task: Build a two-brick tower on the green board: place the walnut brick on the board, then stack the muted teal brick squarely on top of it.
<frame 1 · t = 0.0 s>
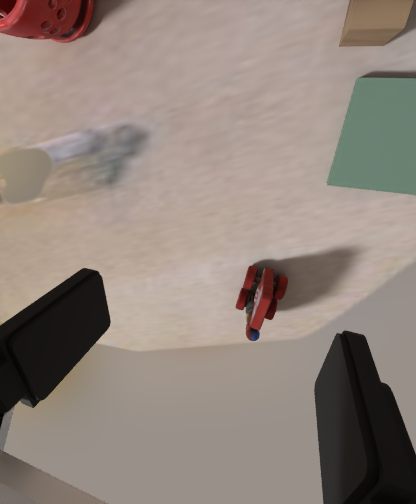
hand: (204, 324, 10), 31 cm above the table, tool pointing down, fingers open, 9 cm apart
toy fire truck: (261, 287, 45), on the table
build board: (393, 139, 30), on the table
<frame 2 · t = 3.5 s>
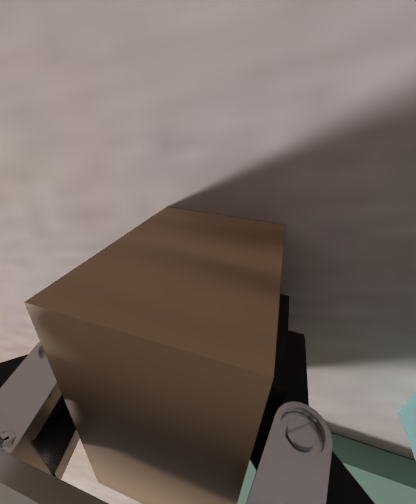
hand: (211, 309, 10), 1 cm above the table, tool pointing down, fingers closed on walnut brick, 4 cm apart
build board: (298, 478, 16), on the table
walnut brick: (215, 299, 11), on the table, touching gripper
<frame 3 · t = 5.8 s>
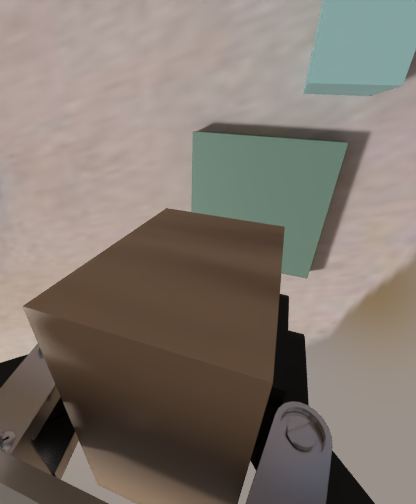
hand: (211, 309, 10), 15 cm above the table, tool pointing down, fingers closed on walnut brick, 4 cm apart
teal brick: (354, 21, 16), on the table
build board: (255, 206, 23), on the table
walnut brick: (215, 300, 11), point 14 cm above the table, touching gripper
when the fingers open (3 cm above the table, at t = 8.2 s): walnut brick drops 1 cm, resting on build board.
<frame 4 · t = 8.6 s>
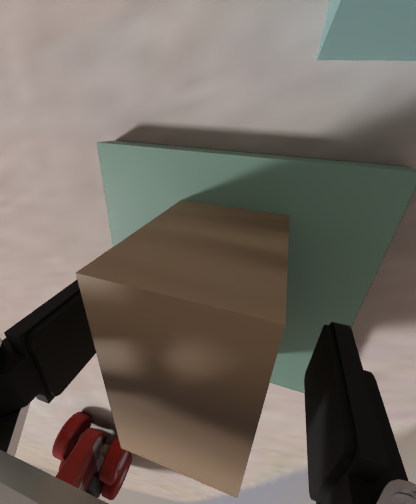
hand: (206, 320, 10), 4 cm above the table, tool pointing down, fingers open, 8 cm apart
toy fire truck: (109, 434, 29), on the table
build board: (227, 273, 13), on the table
walnut brick: (224, 286, 12), point 1 cm above the table, touching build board
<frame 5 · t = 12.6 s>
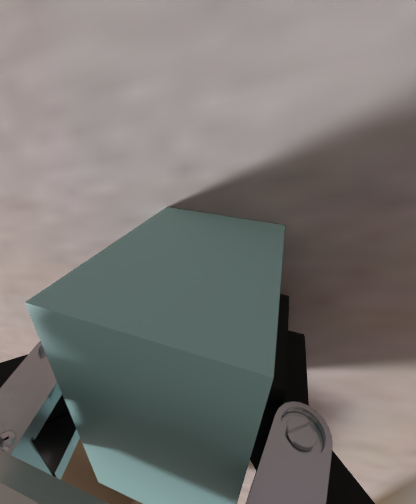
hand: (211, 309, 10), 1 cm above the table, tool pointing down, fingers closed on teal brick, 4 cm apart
teal brick: (215, 299, 11), on the table, touching gripper
walnut brick: (139, 438, 17), point 1 cm above the table, touching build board
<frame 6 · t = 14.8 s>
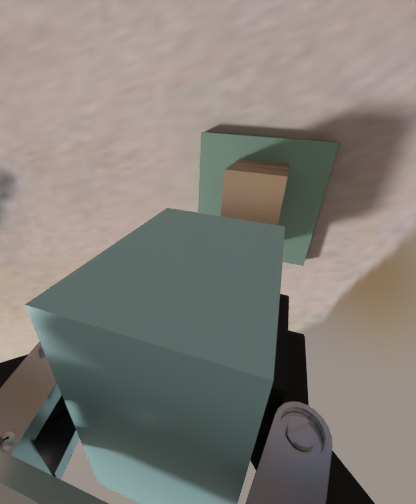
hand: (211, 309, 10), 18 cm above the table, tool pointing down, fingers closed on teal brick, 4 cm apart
teal brick: (215, 300, 11), point 17 cm above the table, touching gripper
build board: (257, 199, 25), on the table
walnut brick: (257, 203, 24), point 1 cm above the table, touching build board
when the fingers open (9 cm above the table, at t = 17.2 s): teal brick stays where it is, resting on walnut brick.
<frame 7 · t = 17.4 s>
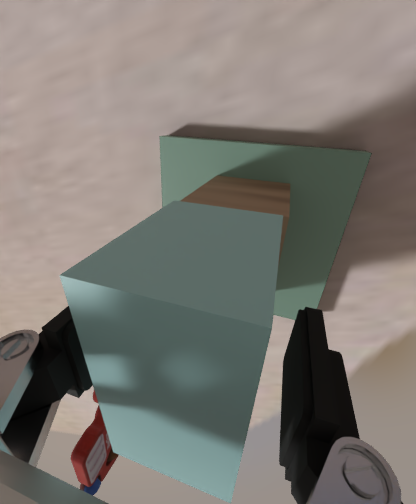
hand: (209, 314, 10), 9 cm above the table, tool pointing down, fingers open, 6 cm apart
teal brick: (219, 287, 12), point 7 cm above the table, touching walnut brick
toy fire truck: (135, 388, 33), on the table
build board: (245, 231, 18), on the table
walnut brick: (244, 238, 17), point 1 cm above the table, touching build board, teal brick
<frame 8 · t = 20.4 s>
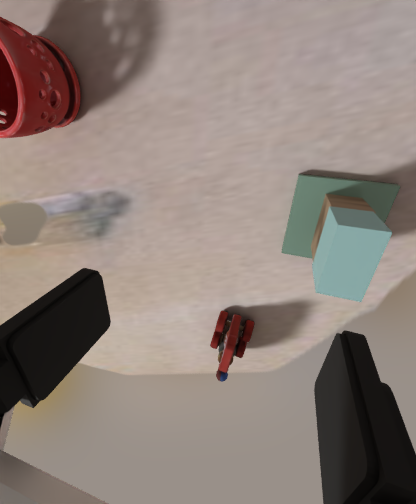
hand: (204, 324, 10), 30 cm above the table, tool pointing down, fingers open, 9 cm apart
teal brick: (340, 240, 29), point 7 cm above the table, touching walnut brick
toy fire truck: (233, 327, 51), on the table
plant pot: (57, 88, 39), on the table
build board: (332, 220, 35), on the table
walnut brick: (334, 223, 34), point 1 cm above the table, touching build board, teal brick
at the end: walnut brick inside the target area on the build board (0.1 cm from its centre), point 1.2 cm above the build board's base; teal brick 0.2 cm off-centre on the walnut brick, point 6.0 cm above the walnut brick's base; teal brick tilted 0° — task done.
